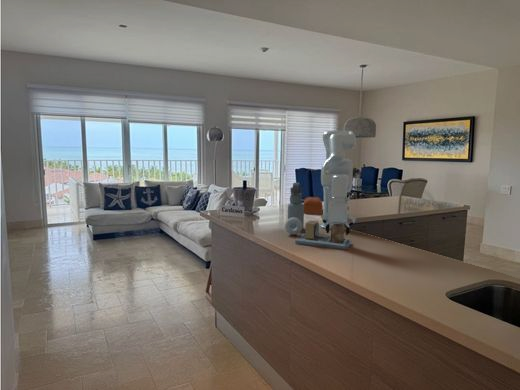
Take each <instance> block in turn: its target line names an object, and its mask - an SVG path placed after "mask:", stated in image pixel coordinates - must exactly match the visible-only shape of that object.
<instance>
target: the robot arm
mask: <svg viewBox="0 0 520 390" xmlns="http://www.w3.org/2000/svg"><path fill="white" fill-rule="evenodd" d="M322 141H323V146H324V148H325V153H326V154H325V161H324V162H323V164H322V166H321V169H320V183H321V186H322V187H323V188H322V191H323V204H322V205H323V212H322V214H321V215H320V218H321V220H322V223H321V224H319V228H323V229H325V231H326V234H329V233H330V231H331V227H332V226H333V225H334V224H335V223H342V224H344V225H345V226H346V227H345V236H348V235H349V234H350V233H351V232H350V231H351V230H350V229H351V226H353V225H354V223H355V222H356V220H357V218H356V217H354V216H352V215H351V214H350V207H349V206H350V205H349V203H348V202H350V198H348V197H347V195H348V193H350V192H351V191H352V187H353V174H354V173H353V171H354V170H353V169H354V164H353V162H352V160H351V159H349V158H346V150H350V149H351V150H353V149H355V148H356V146H357V137H356V135H355V133H354V132H353V131H352V130H328V131H325V132H323V134H322ZM350 220H351V222H350Z"/></svg>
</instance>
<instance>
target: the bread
mask: <svg viewBox="0 0 520 390" xmlns="http://www.w3.org/2000/svg"><path fill="white" fill-rule="evenodd" d="M302 204H303V205H304V215H318V216H319V215H320V216H321V215H323V205H324V204H323V200H322V199H321V198H320V197H318V196H316V197H315V196H308V197H305V198H304V201H303V203H302Z"/></svg>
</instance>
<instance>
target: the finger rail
mask: <svg viewBox="0 0 520 390" xmlns="http://www.w3.org/2000/svg"><path fill="white" fill-rule="evenodd" d="M294 241H295V243H294V244H295V245H303V246H311V247H312V246H313V247H321V248H329V249H334V250H335V249H336V250H344V251H347V250H348V249H349V248H350V246H351V245H352V240H350V238H346V237H344V241H343V242H342V243H335V242H332V240H331V236H327V235H320V223H319V220H309V221H307V222H305V233H302V234H301V236H299V237H296V238H295V240H294Z"/></svg>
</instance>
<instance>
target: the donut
mask: <svg viewBox="0 0 520 390" xmlns="http://www.w3.org/2000/svg"><path fill="white" fill-rule="evenodd" d="M292 224H296V226H297V227H296V228H295V229H292V228H291V225H292ZM302 227H303V226H302V222H301V221H300V220H299V219H298V218H290V219H288V218H287V220H286V221H285V223H284V230H285V231H286V233H287V234H289V235H291V236H296V235H299V234H300V233H301V231H303V229H302ZM303 228H304V227H303Z"/></svg>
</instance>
